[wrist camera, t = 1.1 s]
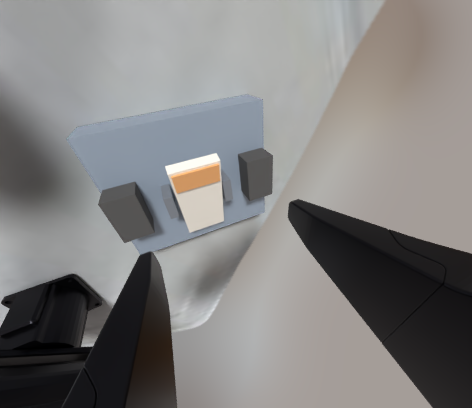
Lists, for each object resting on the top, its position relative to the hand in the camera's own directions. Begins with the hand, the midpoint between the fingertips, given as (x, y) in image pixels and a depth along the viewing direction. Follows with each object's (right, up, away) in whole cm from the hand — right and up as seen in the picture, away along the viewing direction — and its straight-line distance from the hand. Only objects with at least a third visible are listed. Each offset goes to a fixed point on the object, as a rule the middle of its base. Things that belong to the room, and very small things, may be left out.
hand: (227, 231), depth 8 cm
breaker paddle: (-3, +2, +8) cm, 9 cm away
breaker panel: (-4, +4, +12) cm, 13 cm away
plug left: (-9, +1, +8) cm, 12 cm away
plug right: (+2, +4, +11) cm, 12 cm away
